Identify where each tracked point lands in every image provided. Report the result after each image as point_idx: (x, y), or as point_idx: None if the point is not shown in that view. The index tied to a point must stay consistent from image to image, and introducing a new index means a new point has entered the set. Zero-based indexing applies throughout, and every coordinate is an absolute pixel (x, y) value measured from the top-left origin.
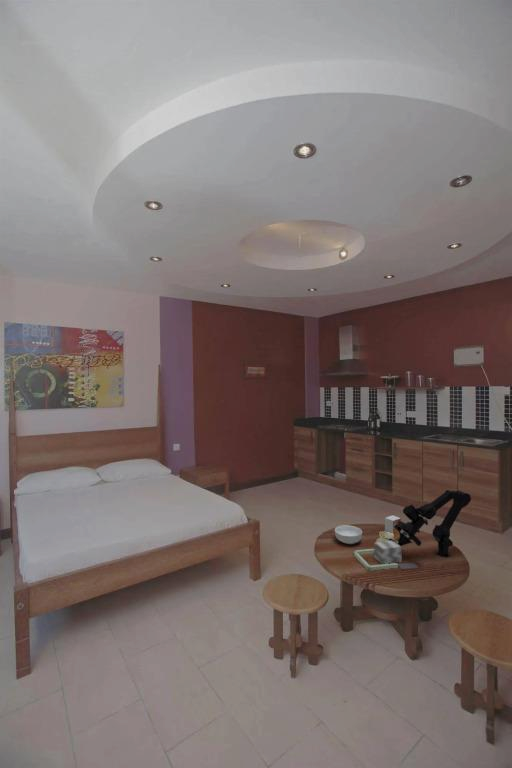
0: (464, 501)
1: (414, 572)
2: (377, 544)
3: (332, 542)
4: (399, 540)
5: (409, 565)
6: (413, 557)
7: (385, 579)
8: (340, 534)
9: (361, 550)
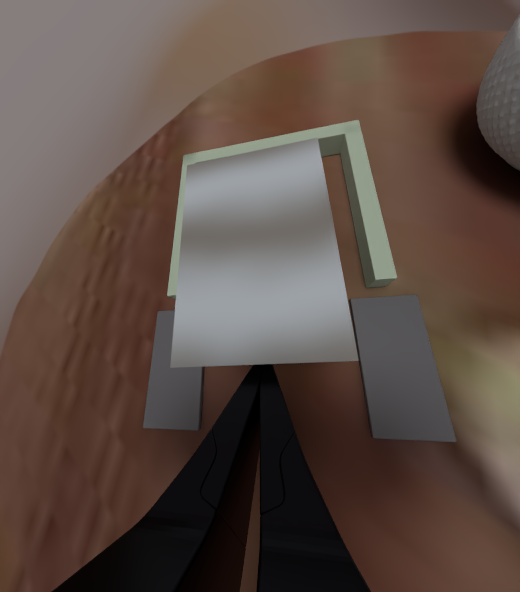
0: None
1: (121, 364)
2: (273, 153)
3: None
4: (264, 422)
5: (175, 379)
6: None
7: (125, 210)
8: None
9: (360, 159)
